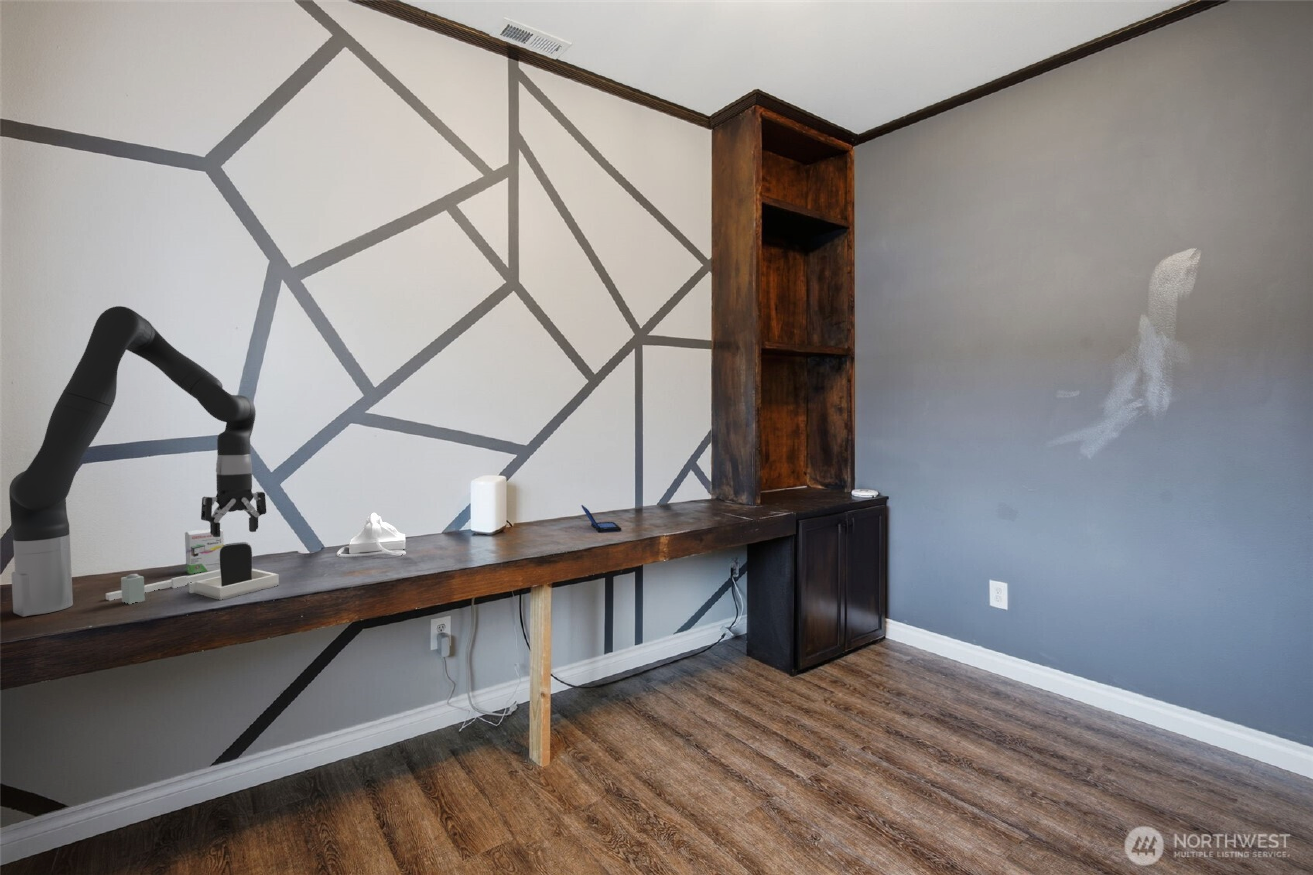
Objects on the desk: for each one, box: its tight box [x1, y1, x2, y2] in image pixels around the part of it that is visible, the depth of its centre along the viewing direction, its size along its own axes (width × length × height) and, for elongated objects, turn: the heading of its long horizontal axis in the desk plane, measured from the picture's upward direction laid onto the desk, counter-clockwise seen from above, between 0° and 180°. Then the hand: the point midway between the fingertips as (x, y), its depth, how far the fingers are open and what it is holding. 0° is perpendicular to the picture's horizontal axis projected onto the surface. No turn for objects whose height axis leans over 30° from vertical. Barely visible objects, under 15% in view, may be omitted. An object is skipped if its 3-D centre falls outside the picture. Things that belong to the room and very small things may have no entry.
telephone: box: [336, 512, 407, 558], centre depth 198 cm, size 25×21×12 cm
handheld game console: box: [580, 504, 622, 533], centre depth 235 cm, size 16×13×9 cm
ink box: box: [184, 528, 225, 575], centre depth 174 cm, size 8×5×12 cm, turn 138°
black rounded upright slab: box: [219, 541, 253, 587], centre depth 155 cm, size 7×4×11 cm, turn 126°
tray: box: [194, 568, 280, 601], centre depth 156 cm, size 14×12×3 cm
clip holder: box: [105, 569, 221, 605], centre depth 157 cm, size 28×13×7 cm, turn 152°
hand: (235, 534), depth 154 cm, fingers open, 8 cm apart
